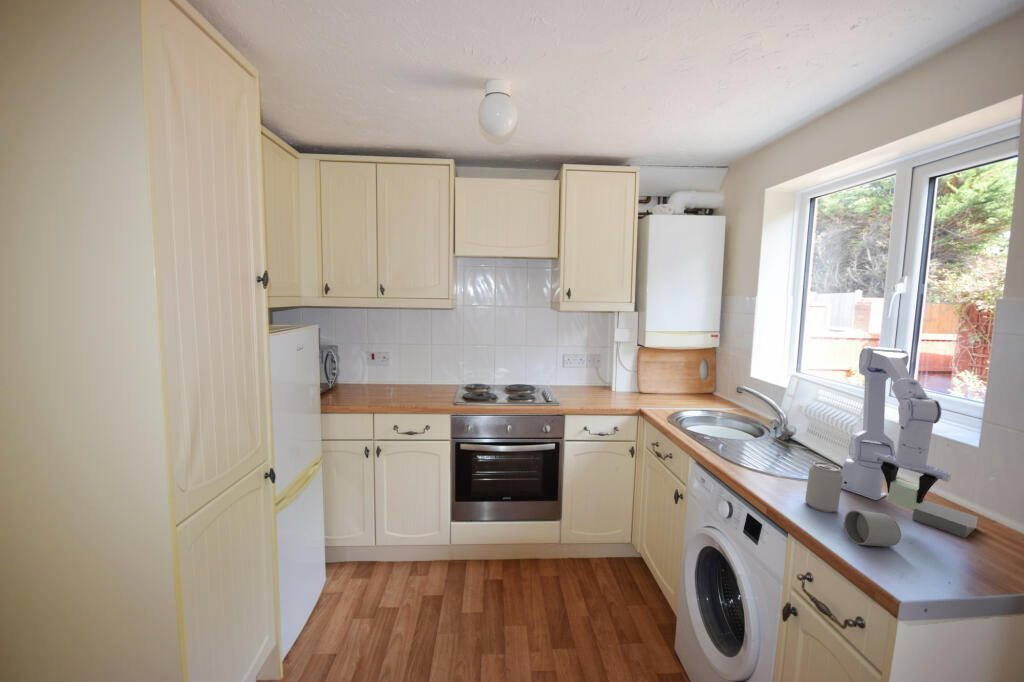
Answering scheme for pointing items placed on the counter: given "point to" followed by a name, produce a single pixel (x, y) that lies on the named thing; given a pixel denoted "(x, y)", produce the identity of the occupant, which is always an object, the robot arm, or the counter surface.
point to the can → (824, 486)
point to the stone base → (945, 518)
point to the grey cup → (871, 528)
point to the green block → (903, 493)
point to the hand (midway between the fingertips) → (904, 497)
